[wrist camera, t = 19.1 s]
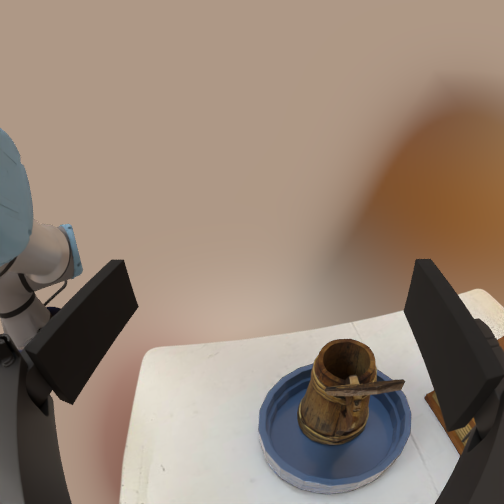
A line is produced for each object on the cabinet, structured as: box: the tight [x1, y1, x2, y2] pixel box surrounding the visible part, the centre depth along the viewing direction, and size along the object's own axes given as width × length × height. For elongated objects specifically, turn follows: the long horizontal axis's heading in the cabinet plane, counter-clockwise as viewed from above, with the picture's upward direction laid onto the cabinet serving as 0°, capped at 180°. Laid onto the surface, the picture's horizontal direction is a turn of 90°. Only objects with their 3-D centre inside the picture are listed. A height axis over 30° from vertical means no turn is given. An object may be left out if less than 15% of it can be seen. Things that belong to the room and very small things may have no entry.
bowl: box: [258, 364, 411, 494], centre depth 28 cm, size 18×18×4 cm
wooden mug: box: [297, 339, 405, 445], centre depth 24 cm, size 9×14×18 cm, turn 173°
